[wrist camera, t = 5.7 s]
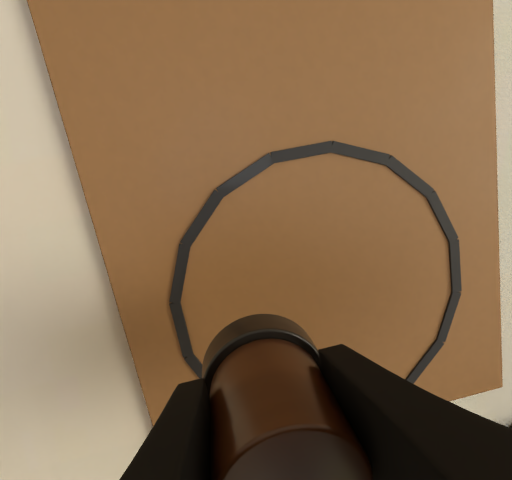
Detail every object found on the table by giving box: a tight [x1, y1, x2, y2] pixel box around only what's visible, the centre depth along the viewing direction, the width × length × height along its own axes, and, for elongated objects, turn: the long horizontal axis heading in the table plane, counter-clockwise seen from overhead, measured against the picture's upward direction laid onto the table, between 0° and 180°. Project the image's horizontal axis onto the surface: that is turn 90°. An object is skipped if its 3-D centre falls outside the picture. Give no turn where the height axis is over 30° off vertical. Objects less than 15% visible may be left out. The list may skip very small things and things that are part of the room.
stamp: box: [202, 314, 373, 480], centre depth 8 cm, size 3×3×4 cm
